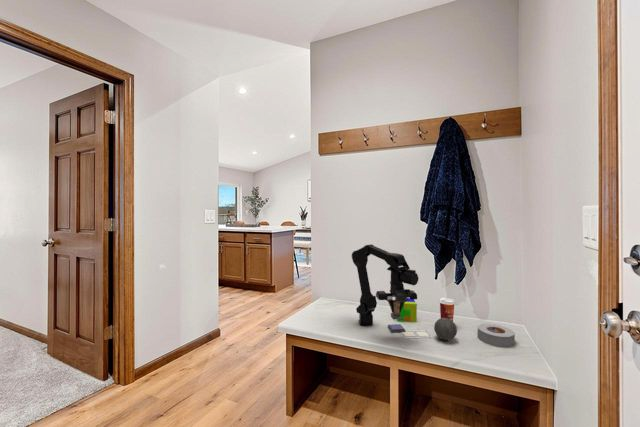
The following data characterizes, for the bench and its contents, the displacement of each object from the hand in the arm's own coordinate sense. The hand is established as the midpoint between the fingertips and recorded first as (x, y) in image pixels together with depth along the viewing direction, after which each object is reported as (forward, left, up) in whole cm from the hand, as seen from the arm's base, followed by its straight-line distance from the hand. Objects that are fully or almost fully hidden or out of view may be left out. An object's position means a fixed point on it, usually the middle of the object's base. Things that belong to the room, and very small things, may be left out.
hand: (396, 312), depth 150 cm
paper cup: (+31, +11, -12) cm, 35 cm away
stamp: (0, 0, -2) cm, 2 cm away
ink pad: (+3, +8, -12) cm, 14 cm away
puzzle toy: (+13, +23, -12) cm, 29 cm away
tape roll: (+46, -6, -12) cm, 48 cm away
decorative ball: (+23, -4, -12) cm, 26 cm away
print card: (+11, +2, -12) cm, 16 cm away
